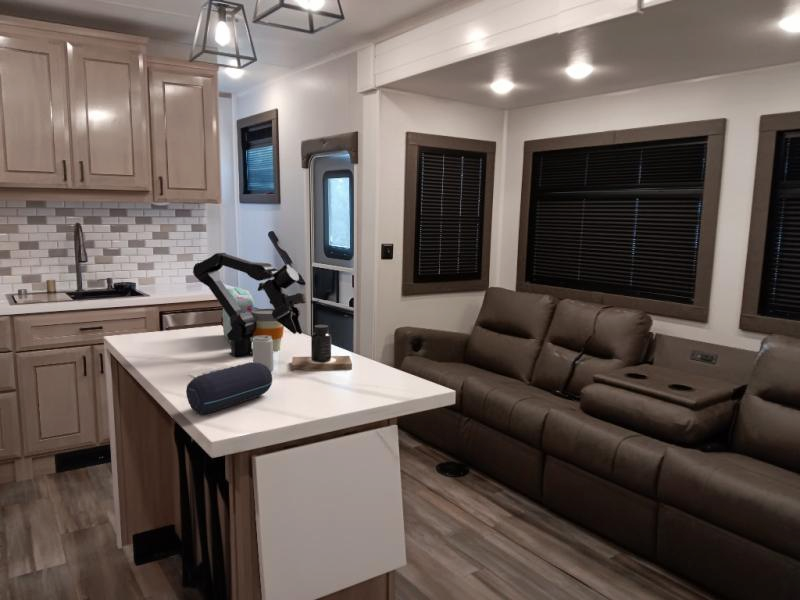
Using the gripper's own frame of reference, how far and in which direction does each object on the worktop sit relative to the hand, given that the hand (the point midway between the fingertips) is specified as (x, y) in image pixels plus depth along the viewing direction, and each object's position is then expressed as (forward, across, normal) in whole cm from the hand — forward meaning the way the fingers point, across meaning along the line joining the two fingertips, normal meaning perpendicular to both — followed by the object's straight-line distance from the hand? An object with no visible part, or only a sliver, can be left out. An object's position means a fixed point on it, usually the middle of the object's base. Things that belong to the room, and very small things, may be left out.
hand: (298, 333), depth 204 cm
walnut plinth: (+14, -2, -2) cm, 14 cm away
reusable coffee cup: (-2, +19, +17) cm, 25 cm away
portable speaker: (+12, -44, +18) cm, 49 cm away
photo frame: (+2, -19, +25) cm, 31 cm away
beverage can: (+7, -12, +14) cm, 20 cm away
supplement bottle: (+12, -2, -3) cm, 13 cm away
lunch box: (-14, +34, +29) cm, 47 cm away
